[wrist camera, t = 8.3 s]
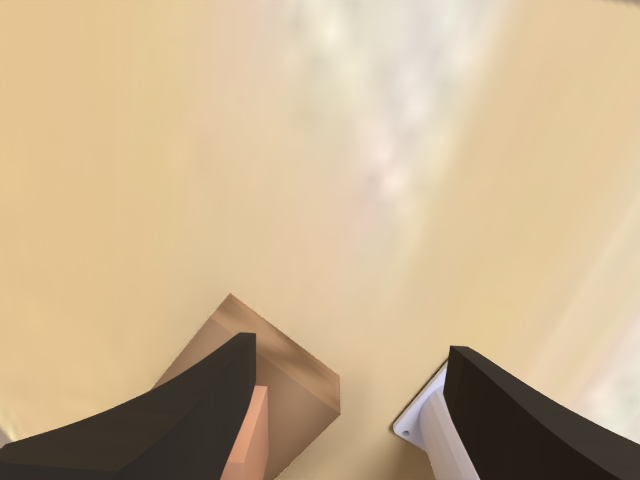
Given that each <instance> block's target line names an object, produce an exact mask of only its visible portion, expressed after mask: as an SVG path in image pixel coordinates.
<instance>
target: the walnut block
mask: <svg viewBox="0 0 640 480" xmlns="http://www.w3.org/2000/svg"><path fill="white" fill-rule="evenodd" d="M239 332H247V333H256V384H255V386H267V392H268V438H269V455H268V459H267V463H266V468H265V472H264V476H263V480H273V479H274V478H276V477H277V476H278V475H279V474H280V473H281V472H282V471H283V470H284V469H285V468H286V467H287V466H288V465H289V464H290V463H291V462H292V461H293V460H294V459H295V458H296V457H297V456H298V455H299V454H300V453H301V452H302V451H303V450H304V449H305V448H306V447H307V446H308V445H309V444H310V443H312V442H313V441H314V440H315V439H316V438H317V437H318V436H319V435H320V434H321V433H322V432H323V431H324V430H325V429H326V428H327V427H328V426H329V425H330V424H331V423H332V422H333V421H334V420H335V419H336V418H337V417H338V416H339V415H340V383H339V375H337V374H336V373H335V372H334V371H332V370H331V369H330V368H328V367H327V366H326V365H324V364H323V363H322V362H320V361H319V360H318V359H316V358H315V357H314V356H312V355H311V354H310V353H308V352H307V351H306V350H305V349H303V348H302V347H301V346H299V345H298V344H297V343H295V342H294V341H293V340H291V339H290V338H289V337H287V336H286V335H285V334H283V333H282V332H281V331H280V330H278V329H277V328H276V327H274V326H273V325H272V324H270V323H269V322H268V321H266V320H265V319H264V318H262V317H261V316H260V315H258V314H257V313H256V312H255V311H253V310H252V309H251V308H249V307H248V306H247V305H245V304H244V303H243V302H241V301H240V300H239V299H237V298H236V297H235V296H233V295H232V294H231V293H230V294H229V295H228V297H227V298H226V299H225V300H224V301H223V302H222V304H221V305H220V306H219V307H218V308H217V309H216V311H215V312H214V313H213V314H212V315H211V317H210V318H209V319H208V320H207V321H206V323H205V324H204V325H203V326H202V328H201V329H200V330H199V331H198V332H197V334H196V335H195V336H194V337H193V339H192V340H191V341H190V342H189V344H188V345H187V346H186V347H185V348H184V350H183V351H182V352H181V353H180V355H179V356H178V357H177V358H176V360H175V361H174V362H173V363H172V364H171V366H170V367H169V368H168V369H167V371H166V372H165V373H164V374H163V376H162V377H161V378H160V379H159V380H158V382H157V383H156V384H155V385H154V387H153V388H152V389H151V390H153V389H154V388H156V387H158V386H160V385H162V384H164V383H166V382H167V381H169V380H171V379H173V378H174V377H176V376H178V375H179V374H181V373H182V372H184V371H185V370H187V369H189V368H190V367H192V366H193V365H195V364H196V363H198V362H199V361H201V360H202V359H204V358H205V357H207V356H208V355H209V354H211V353H212V352H213V351H215V350H216V349H218V348H219V347H220V346H222V345H223V344H224V343H226V342H227V341H228V340H230V339H231V338H232V337H234V336H235V335H236V334H238V333H239ZM151 390H150V391H151Z"/></svg>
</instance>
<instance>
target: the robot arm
mask: <svg viewBox="0 0 640 480" xmlns="http://www.w3.org/2000/svg"><path fill="white" fill-rule="evenodd" d="M255 384H256V333H247V332H239V333H238V334H236V335H235V336H234V337H232V338H231V339H230V340H228V341H227V342H226V343H224V344H223V345H222V346H220V347H219V348H218V349H216V350H215V351H213V352H212V353H211V354H209V355H208V356H207V357H205V358H204V359H202V360H201V361H199V362H198V363H196V364H195V365H193V366H192V367H190V368H189V369H187V370H185V371H184V372H182V373H181V374H179V375H178V376H176V377H174V378H173V379H171V380H169V381H167V382H166V383H164V384H162V385H160V386H158V387H156V388H154V389H153V390H151V391H149V392H147V393H145V394H142V395H140V396H138V397H136V398H134V399H132V400H129V401H127V402H125V403H123V404H121V405H118V406H116V407H114V408H112V409H109V410H107V411H104V412H102V413H99V414H97V415H94V416H92V417H89V418H86V419H83V420H81V421H78V422H75V423H73V424H70V425H67V426H64V427H61V428H58V429H55V430H51V431H48V432H45V433H42V434H38V435H35V436H32V437H29V438H25V439H22V440H19V441H15V442H12V443H8V444H6V445H4V446H3V447H2V448H1V449H0V480H220V479H221V476H222V473H223V470H224V468H225V466H226V463H227V461H228V458H229V456H230V453H231V451H232V448H233V446H234V443H235V441H236V439H237V436H238V434H239V431H240V429H241V426H242V424H243V421H244V419H245V416H246V414H247V411H248V409H249V406H250V402H251V399H252V395H253V391H254V387H255ZM393 430H394V433H395V434H396V435H398V436H400V437H402V438H403V439H405V440H407V441H408V442H410V443H412V444H414V445H415V446H417V447H419V448H420V449H422V450H424V451H425V452H427V455H428V458H429V461H430V464H431V467H432V470H433V473H434V475H435V478H436V480H640V444H638V443H635V442H633V441H631V440H629V439H627V438H624V437H622V436H620V435H618V434H616V433H614V432H612V431H610V430H608V429H605V428H603V427H601V426H599V425H597V424H595V423H594V422H592V421H590V420H588V419H586V418H584V417H582V416H580V415H578V414H576V413H575V412H573V411H571V410H569V409H567V408H565V407H564V406H562V405H560V404H558V403H556V402H555V401H553V400H551V399H550V398H548V397H546V396H545V395H543V394H541V393H540V392H538V391H536V390H535V389H533V388H532V387H530V386H528V385H527V384H525V383H524V382H522V381H520V380H519V379H517V378H516V377H514V376H513V375H511V374H510V373H508V372H507V371H505V370H504V369H502V368H501V367H499V366H498V365H496V364H495V363H493V362H492V361H490V360H489V359H487V358H486V357H484V356H482V355H481V354H479V353H478V352H476V351H474V350H473V349H471V348H469V347H465V346H450V351H449V358H448V361H447V362H446V363H445V364H444V366H443V367H442V368H441V369H440V370H439V371H438V373H437V374H436V375H435V376H434V377H433V378H432V380H431V381H430V382H429V383H428V384H427V385H426V386H425V388H424V389H423V390H422V391H421V392H420V393H419V395H418V396H417V397H416V398H415V399H414V400H413V402H412V403H411V404H410V405H409V406H408V407H407V409H406V410H405V411H404V412H403V413H402V414H401V416H400V417H399V418H398V419H397V420H396V421H395V423H394V424H393ZM404 431H407V432H404Z"/></svg>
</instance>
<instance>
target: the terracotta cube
mask: <svg viewBox="0 0 640 480" xmlns="http://www.w3.org/2000/svg"><path fill="white" fill-rule="evenodd" d="M268 455H269V438H268V392H267V386H255V387H254V391H253V395H252V399H251V402H250V406H249V409H248V411H247V414H246V416H245V419H244V421H243V424H242V426H241V429H240V431H239V434H238V436H237V439H236V441H235V443H234V446H233V448H232V451H231V453H230V456H229V458H228V461H227V463H226V466H225V468H224V470H223V473H222V476H221V479H220V480H263V476H264V472H265V468H266V463H267V459H268Z"/></svg>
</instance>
